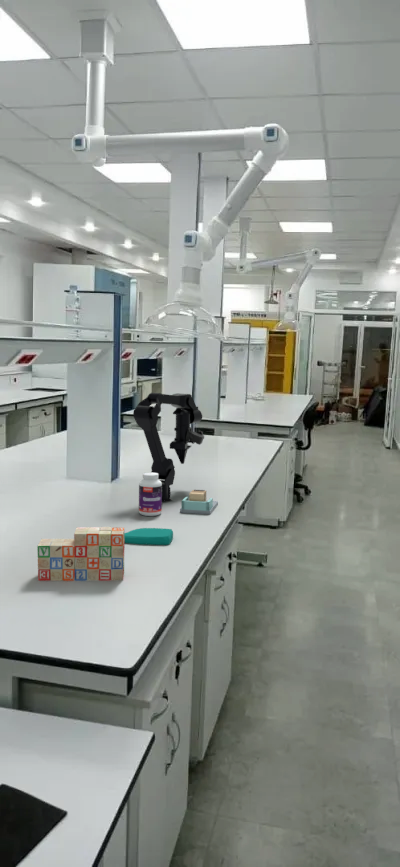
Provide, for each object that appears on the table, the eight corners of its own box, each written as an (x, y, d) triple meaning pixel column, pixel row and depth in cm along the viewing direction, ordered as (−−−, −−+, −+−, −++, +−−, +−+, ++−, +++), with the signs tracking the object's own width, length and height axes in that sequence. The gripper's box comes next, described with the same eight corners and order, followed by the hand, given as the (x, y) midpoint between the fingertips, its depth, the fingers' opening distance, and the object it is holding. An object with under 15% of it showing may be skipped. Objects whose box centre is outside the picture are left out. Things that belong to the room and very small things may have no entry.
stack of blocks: (37, 581, 162) (36, 533, 161) (41, 573, 168) (41, 526, 167) (123, 580, 163) (123, 533, 162) (124, 572, 170) (124, 526, 168)
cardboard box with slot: (202, 509, 231) (203, 493, 231) (189, 508, 232) (189, 492, 232) (206, 505, 237) (206, 490, 237) (192, 504, 238) (192, 489, 238)
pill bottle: (141, 517, 224) (141, 476, 222) (137, 511, 232) (136, 472, 230) (164, 516, 226) (164, 475, 224) (159, 510, 234) (159, 471, 232)
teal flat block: (169, 547, 192) (88, 545, 195) (174, 536, 203) (97, 534, 206) (169, 537, 192) (88, 535, 194) (174, 527, 203) (97, 525, 205)
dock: (210, 514, 229) (210, 502, 229) (179, 512, 231) (180, 500, 231) (217, 504, 244) (218, 493, 243) (189, 502, 246) (189, 491, 245)
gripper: (197, 428, 248) (197, 468, 250) (207, 423, 266) (206, 460, 268) (169, 427, 251) (169, 467, 253) (180, 422, 269) (180, 459, 271)
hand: (182, 463), depth 261 cm, fingers closed
